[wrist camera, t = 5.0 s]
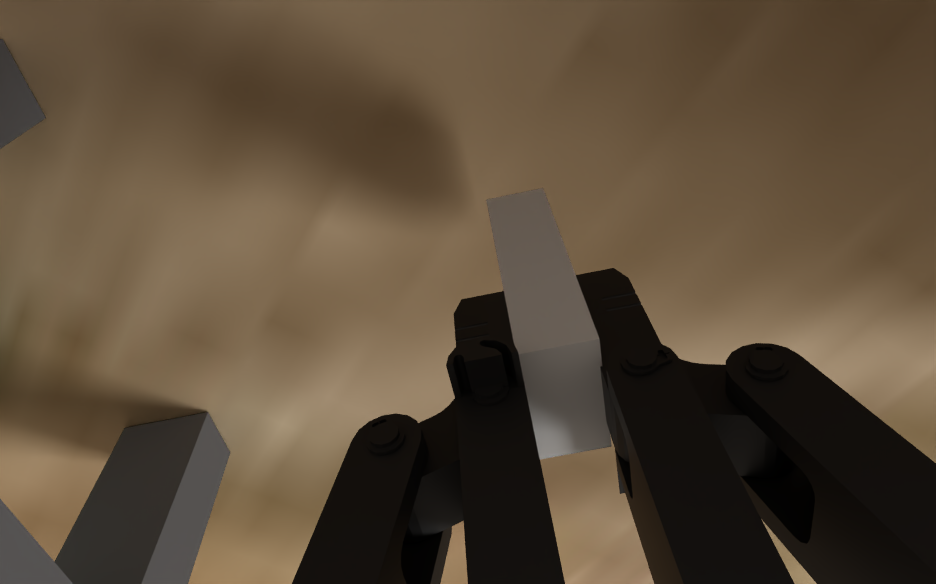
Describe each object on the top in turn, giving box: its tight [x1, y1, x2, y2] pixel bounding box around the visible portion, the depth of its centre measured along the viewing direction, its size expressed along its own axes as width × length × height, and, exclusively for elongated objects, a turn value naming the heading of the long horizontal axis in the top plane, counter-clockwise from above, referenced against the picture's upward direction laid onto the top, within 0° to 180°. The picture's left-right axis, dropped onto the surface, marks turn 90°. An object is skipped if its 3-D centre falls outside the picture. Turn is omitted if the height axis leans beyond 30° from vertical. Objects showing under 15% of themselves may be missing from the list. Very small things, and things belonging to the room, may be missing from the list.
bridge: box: [0, 39, 230, 584], centre depth 17 cm, size 3×14×9 cm, turn 11°
